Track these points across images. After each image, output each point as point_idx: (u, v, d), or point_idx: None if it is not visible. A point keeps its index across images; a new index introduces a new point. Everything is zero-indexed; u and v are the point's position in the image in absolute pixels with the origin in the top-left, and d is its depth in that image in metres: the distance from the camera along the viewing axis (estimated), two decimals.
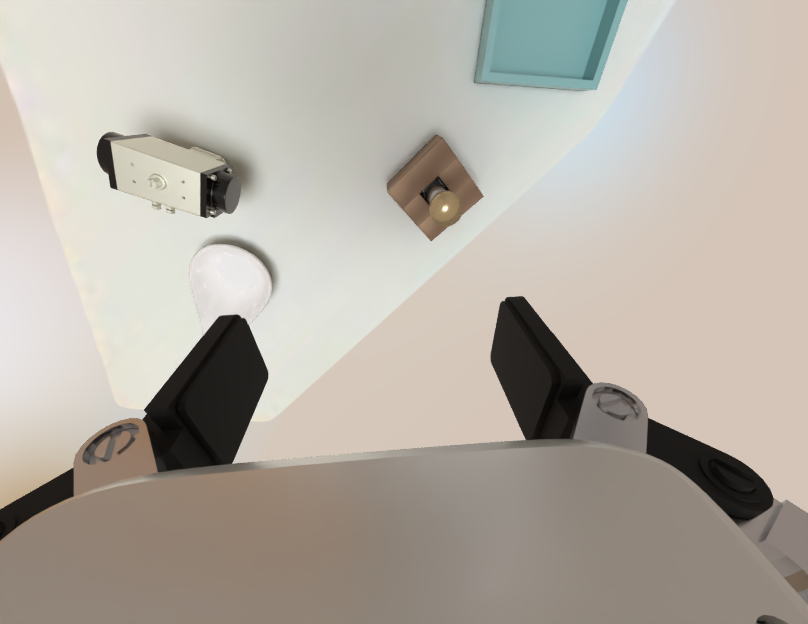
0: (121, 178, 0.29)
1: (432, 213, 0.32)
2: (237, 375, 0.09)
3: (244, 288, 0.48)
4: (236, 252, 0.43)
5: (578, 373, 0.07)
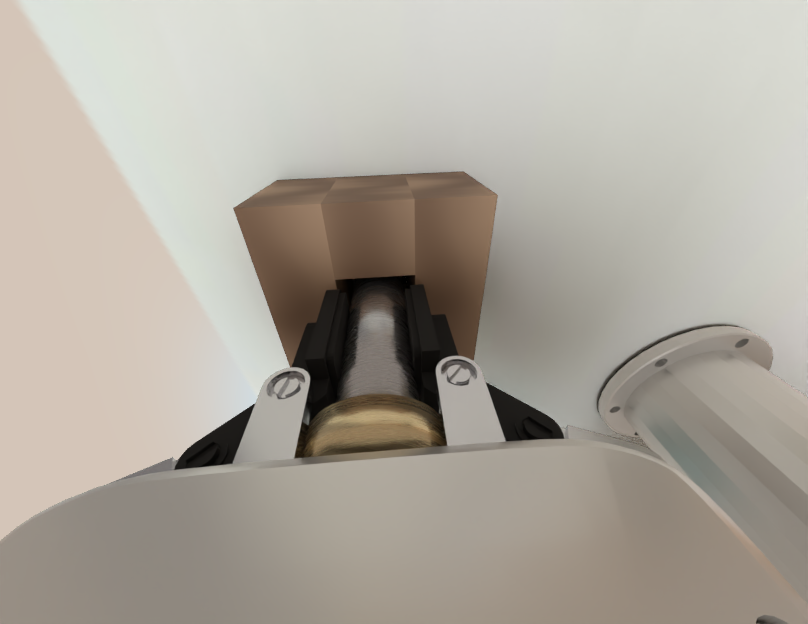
0: None
1: None
2: None
3: None
4: None
5: (434, 347, 0.08)
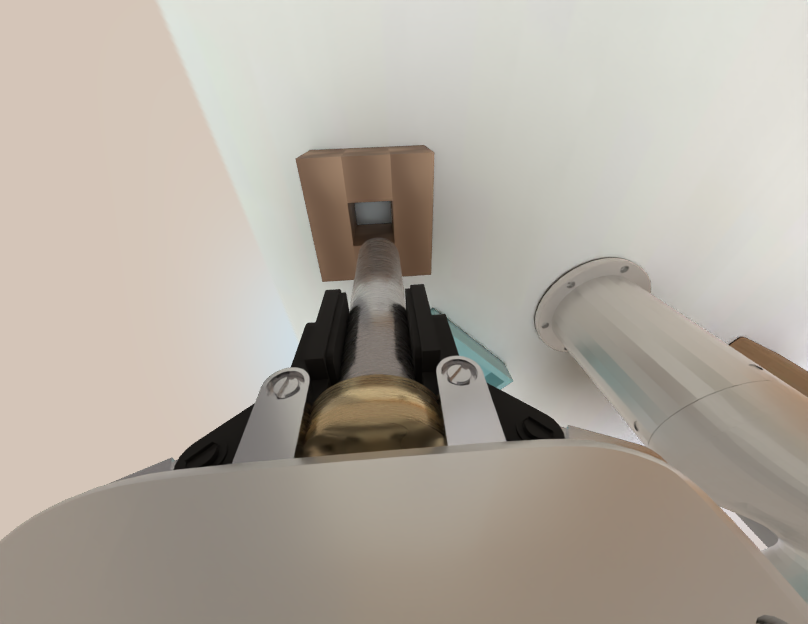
0: None
1: (409, 427, 0.06)
2: None
3: None
4: None
5: (435, 347, 0.08)
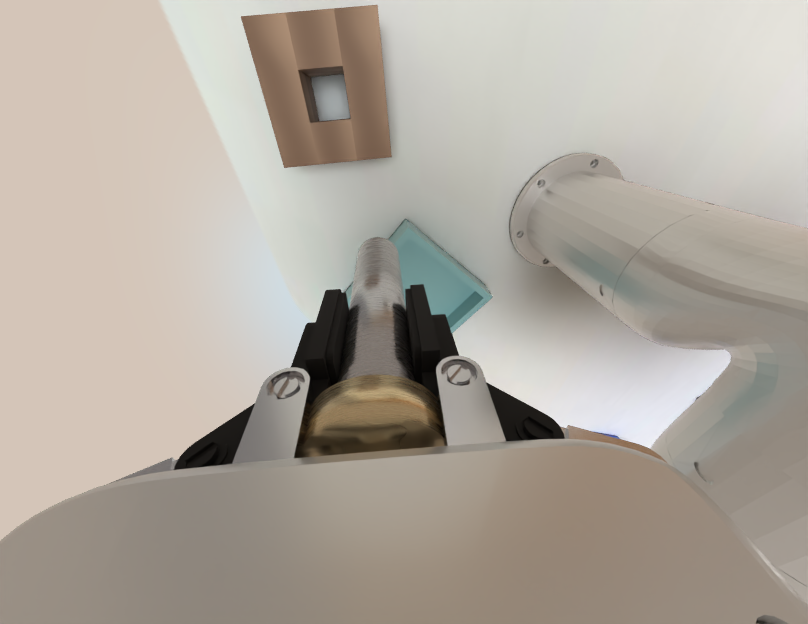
0: None
1: (408, 427, 0.06)
2: None
3: None
4: None
5: (435, 347, 0.08)
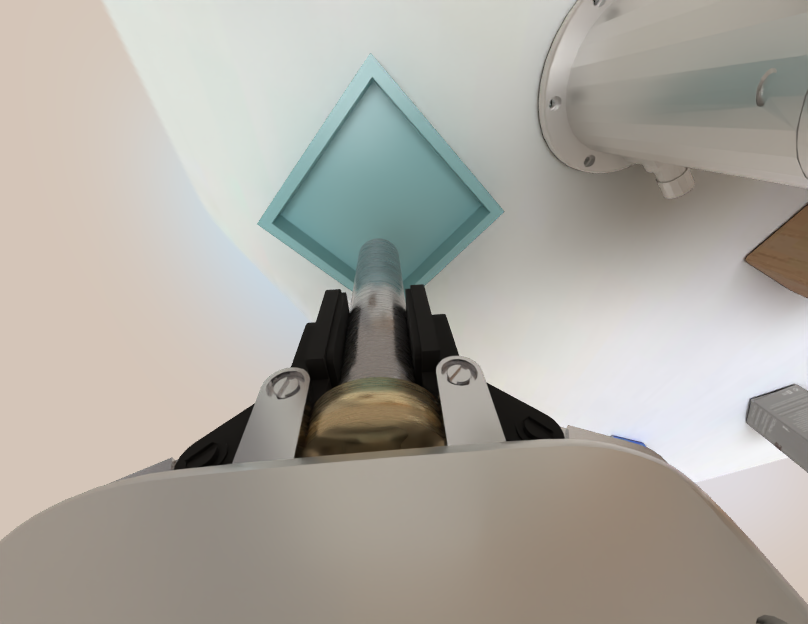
0: None
1: (409, 430, 0.06)
2: None
3: None
4: None
5: (435, 347, 0.08)
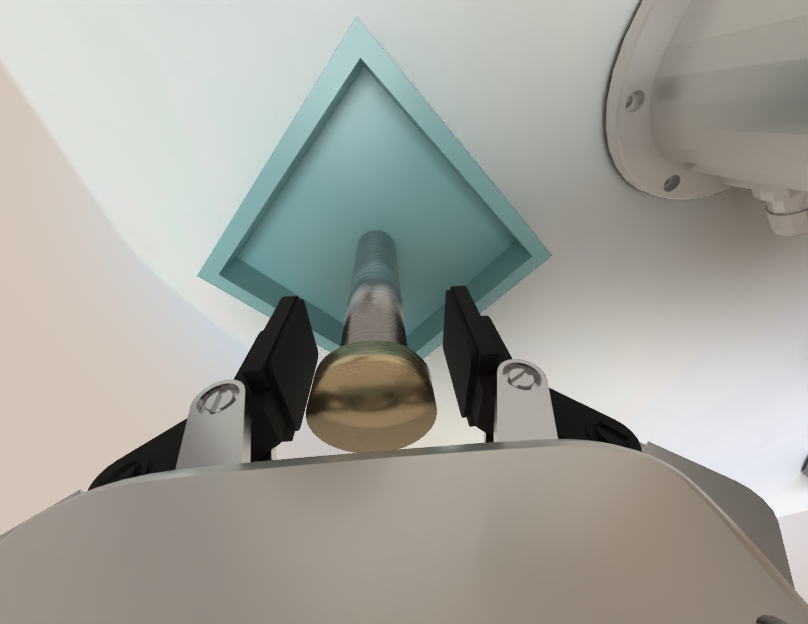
0: None
1: (399, 381, 0.07)
2: (301, 350, 0.10)
3: None
4: None
5: (493, 350, 0.08)
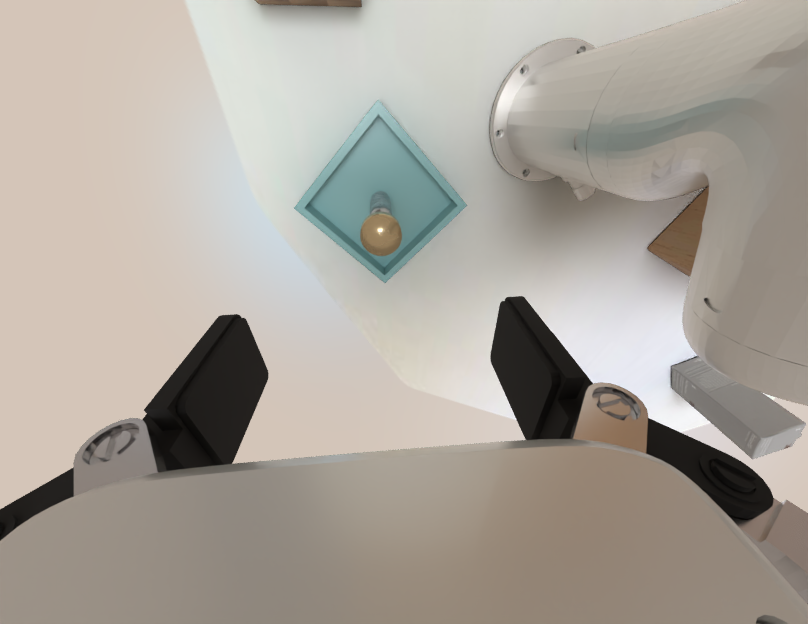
0: None
1: (390, 220, 0.24)
2: (237, 375, 0.09)
3: None
4: None
5: (578, 373, 0.07)
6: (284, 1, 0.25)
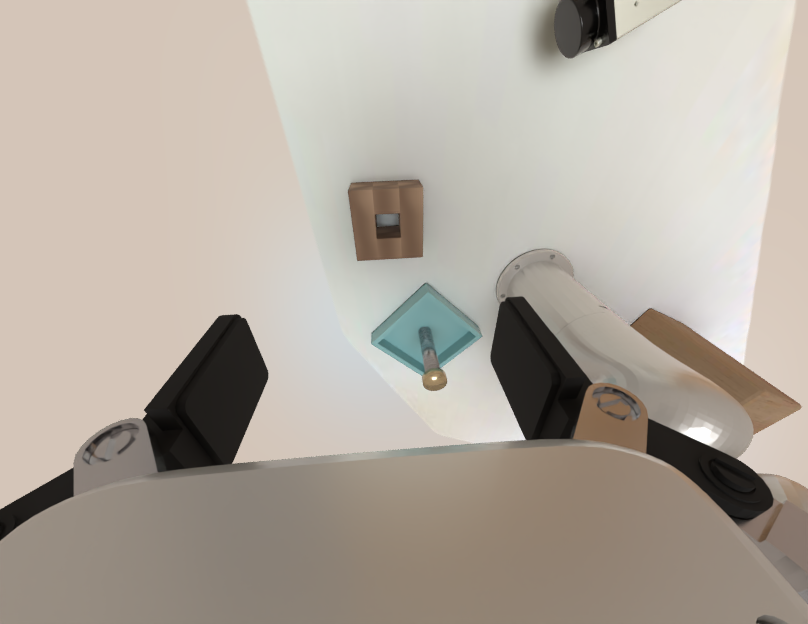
0: None
1: (440, 375, 0.42)
2: (237, 375, 0.09)
3: None
4: None
5: (578, 373, 0.07)
6: None
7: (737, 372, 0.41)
